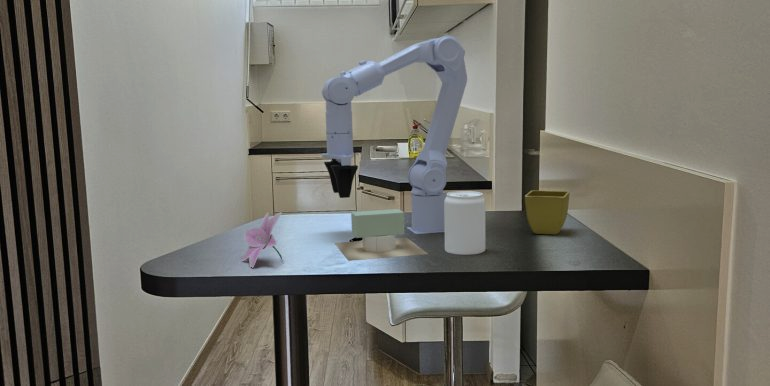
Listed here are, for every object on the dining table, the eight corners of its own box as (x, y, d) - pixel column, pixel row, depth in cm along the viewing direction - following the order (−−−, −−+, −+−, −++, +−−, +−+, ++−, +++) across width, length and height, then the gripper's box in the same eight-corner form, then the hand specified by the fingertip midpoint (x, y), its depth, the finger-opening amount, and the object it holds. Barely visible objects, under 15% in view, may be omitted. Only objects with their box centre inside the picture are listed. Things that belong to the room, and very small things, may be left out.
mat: (406, 240, 154) (406, 237, 154) (428, 257, 138) (428, 253, 138) (334, 245, 150) (334, 242, 150) (348, 263, 134) (348, 260, 134)
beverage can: (459, 259, 136) (458, 198, 134) (437, 251, 143) (436, 193, 141) (493, 254, 139) (493, 194, 138) (470, 246, 146) (470, 189, 145)
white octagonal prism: (390, 243, 148) (390, 229, 147) (398, 250, 142) (398, 235, 141) (360, 246, 146) (360, 231, 146) (367, 252, 140) (367, 238, 140)
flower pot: (523, 235, 156) (523, 195, 155) (530, 227, 164) (531, 189, 163) (564, 237, 153) (564, 196, 151) (569, 229, 161) (570, 191, 159)
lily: (248, 258, 145) (226, 222, 140) (300, 235, 145) (280, 198, 140) (249, 291, 134) (225, 253, 130) (305, 266, 134) (283, 227, 130)
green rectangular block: (398, 230, 147) (398, 208, 146) (404, 234, 142) (404, 212, 142) (351, 233, 144) (351, 212, 144) (356, 237, 140) (355, 215, 139)
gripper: (316, 131, 159) (318, 191, 161) (326, 135, 145) (328, 201, 147) (346, 130, 160) (348, 189, 162) (360, 134, 146) (361, 199, 149)
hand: (341, 194), depth 155 cm, fingers open, 7 cm apart
